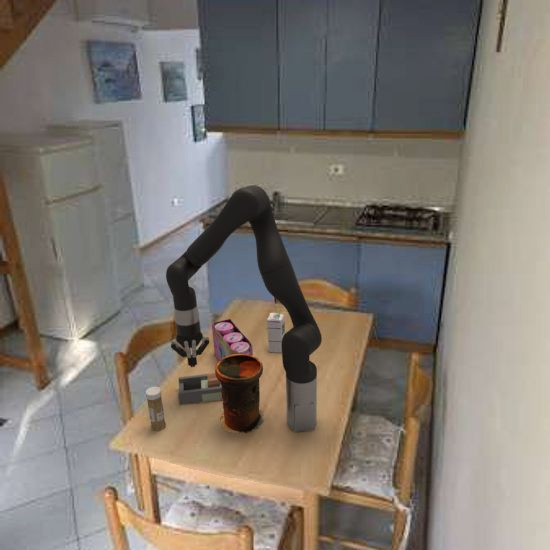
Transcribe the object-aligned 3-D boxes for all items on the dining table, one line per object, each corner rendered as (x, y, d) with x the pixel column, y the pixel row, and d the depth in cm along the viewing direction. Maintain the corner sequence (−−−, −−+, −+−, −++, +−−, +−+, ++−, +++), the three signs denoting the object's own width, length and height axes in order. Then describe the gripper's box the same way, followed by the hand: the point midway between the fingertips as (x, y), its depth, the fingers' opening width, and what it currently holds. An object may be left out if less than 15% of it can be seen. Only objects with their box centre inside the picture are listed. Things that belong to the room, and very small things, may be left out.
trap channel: (244, 396, 166) (243, 385, 164) (179, 404, 162) (178, 393, 161) (241, 380, 174) (240, 369, 172) (179, 388, 171) (178, 377, 169)
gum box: (256, 380, 174) (255, 347, 169) (235, 386, 171) (233, 352, 166) (232, 348, 194) (230, 318, 189) (213, 353, 191) (210, 322, 186)
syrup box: (282, 353, 190) (282, 320, 184) (267, 352, 191) (266, 318, 186) (285, 345, 195) (284, 313, 190) (271, 344, 196) (269, 312, 191)
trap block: (220, 387, 166) (219, 379, 165) (208, 388, 165) (207, 381, 164) (219, 380, 170) (218, 372, 168) (207, 381, 169) (207, 374, 168)
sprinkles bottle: (166, 429, 152) (161, 393, 146) (151, 432, 150) (145, 396, 145) (165, 420, 156) (160, 384, 150) (150, 423, 155) (145, 387, 149)
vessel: (234, 399, 164) (231, 348, 156) (271, 412, 158) (271, 359, 150) (209, 425, 153) (205, 371, 145) (249, 440, 147) (247, 385, 138)
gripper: (165, 327, 152) (172, 374, 158) (208, 321, 154) (213, 369, 160) (166, 316, 159) (172, 362, 165) (207, 311, 161) (212, 357, 167)
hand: (193, 365), depth 163 cm, fingers closed
